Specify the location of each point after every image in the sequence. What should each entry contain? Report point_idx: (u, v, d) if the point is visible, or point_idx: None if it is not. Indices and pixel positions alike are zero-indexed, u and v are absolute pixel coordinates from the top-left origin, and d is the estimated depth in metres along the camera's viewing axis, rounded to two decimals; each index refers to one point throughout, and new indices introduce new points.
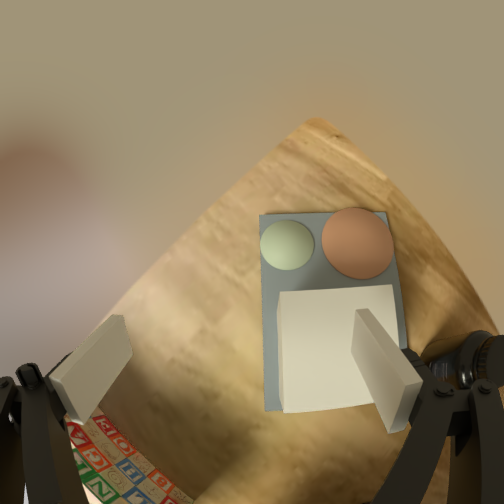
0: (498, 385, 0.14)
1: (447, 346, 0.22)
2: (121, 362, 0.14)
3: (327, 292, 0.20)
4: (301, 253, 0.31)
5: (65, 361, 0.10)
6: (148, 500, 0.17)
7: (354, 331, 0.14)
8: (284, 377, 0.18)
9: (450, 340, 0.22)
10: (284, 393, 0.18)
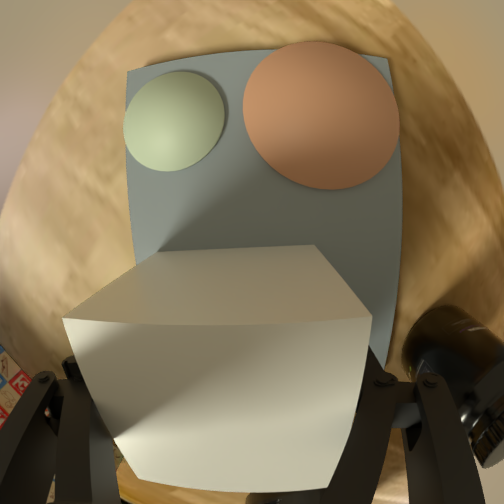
0: (492, 465, 0.07)
1: (456, 356, 0.12)
2: None
3: (162, 333, 0.07)
4: (197, 135, 0.14)
5: None
6: None
7: None
8: (120, 448, 0.08)
9: (464, 343, 0.12)
10: (129, 463, 0.09)
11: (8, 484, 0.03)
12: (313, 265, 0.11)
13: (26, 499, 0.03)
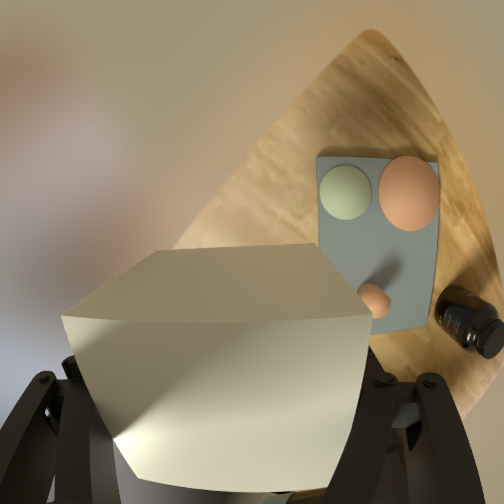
0: (488, 358, 0.22)
1: (463, 306, 0.27)
2: None
3: (161, 330, 0.07)
4: (359, 203, 0.29)
5: None
6: None
7: None
8: (120, 447, 0.08)
9: (466, 300, 0.27)
10: (128, 462, 0.09)
11: (8, 484, 0.03)
12: (313, 263, 0.11)
13: (26, 499, 0.03)
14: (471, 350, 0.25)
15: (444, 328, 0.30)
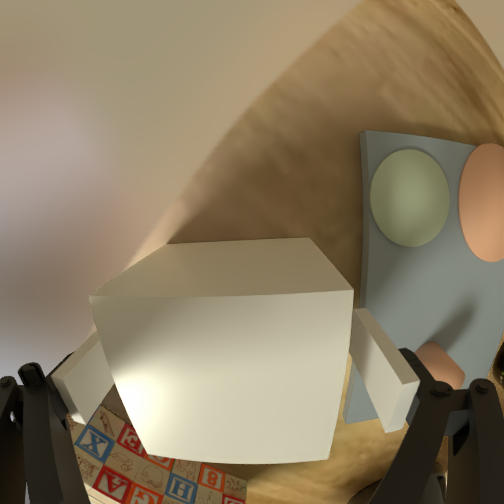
0: None
1: None
2: None
3: (179, 304, 0.09)
4: (432, 218, 0.15)
5: (67, 361, 0.10)
6: None
7: (352, 331, 0.14)
8: (133, 421, 0.10)
9: None
10: (139, 437, 0.10)
11: None
12: (307, 253, 0.13)
13: (6, 501, 0.03)
14: None
15: None
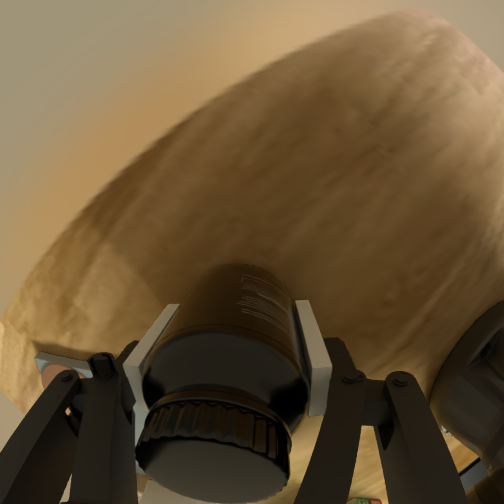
0: (280, 487, 0.06)
1: None
2: None
3: None
4: None
5: (136, 349, 0.11)
6: None
7: None
8: None
9: None
10: None
11: (20, 484, 0.03)
12: None
13: (38, 499, 0.04)
14: None
15: None
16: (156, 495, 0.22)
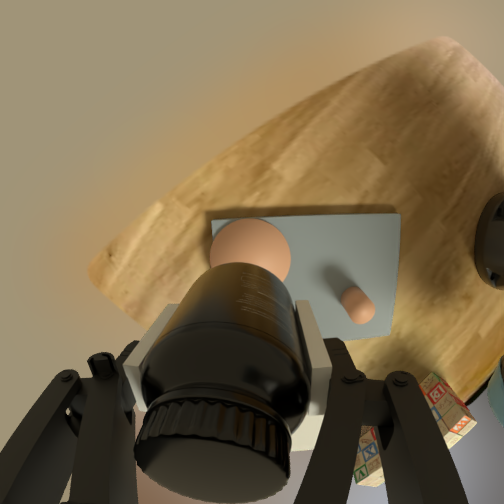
0: (279, 486, 0.06)
1: None
2: None
3: None
4: None
5: (136, 349, 0.11)
6: None
7: None
8: None
9: None
10: None
11: (20, 484, 0.03)
12: None
13: (38, 499, 0.04)
14: None
15: None
16: None
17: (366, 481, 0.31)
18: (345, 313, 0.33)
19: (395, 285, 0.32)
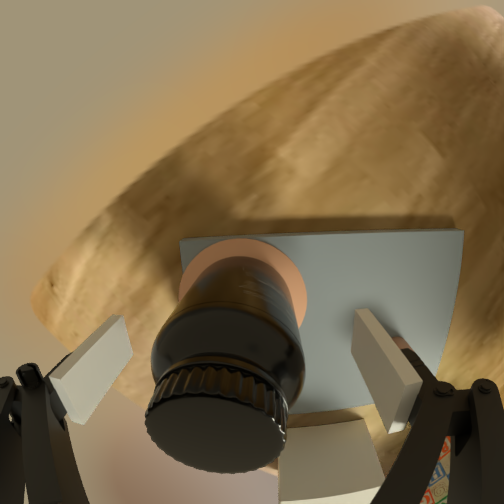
0: (277, 451, 0.07)
1: None
2: (122, 362, 0.14)
3: None
4: None
5: (65, 361, 0.10)
6: None
7: (354, 331, 0.14)
8: None
9: None
10: None
11: None
12: None
13: (5, 501, 0.03)
14: None
15: None
16: (297, 443, 0.22)
17: None
18: None
19: (447, 330, 0.20)
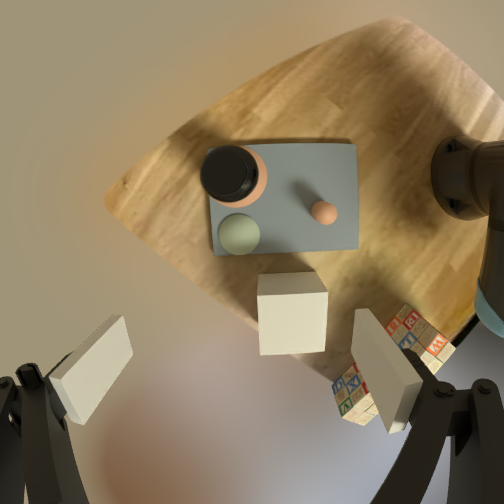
0: (245, 177, 0.27)
1: None
2: (121, 362, 0.14)
3: (261, 333, 0.36)
4: (246, 224, 0.41)
5: (65, 361, 0.10)
6: (406, 337, 0.39)
7: (354, 331, 0.14)
8: (305, 352, 0.37)
9: None
10: (314, 351, 0.37)
11: None
12: None
13: (5, 501, 0.03)
14: (249, 186, 0.30)
15: None
16: (270, 278, 0.41)
17: (351, 414, 0.39)
18: (315, 224, 0.40)
19: (357, 202, 0.39)
